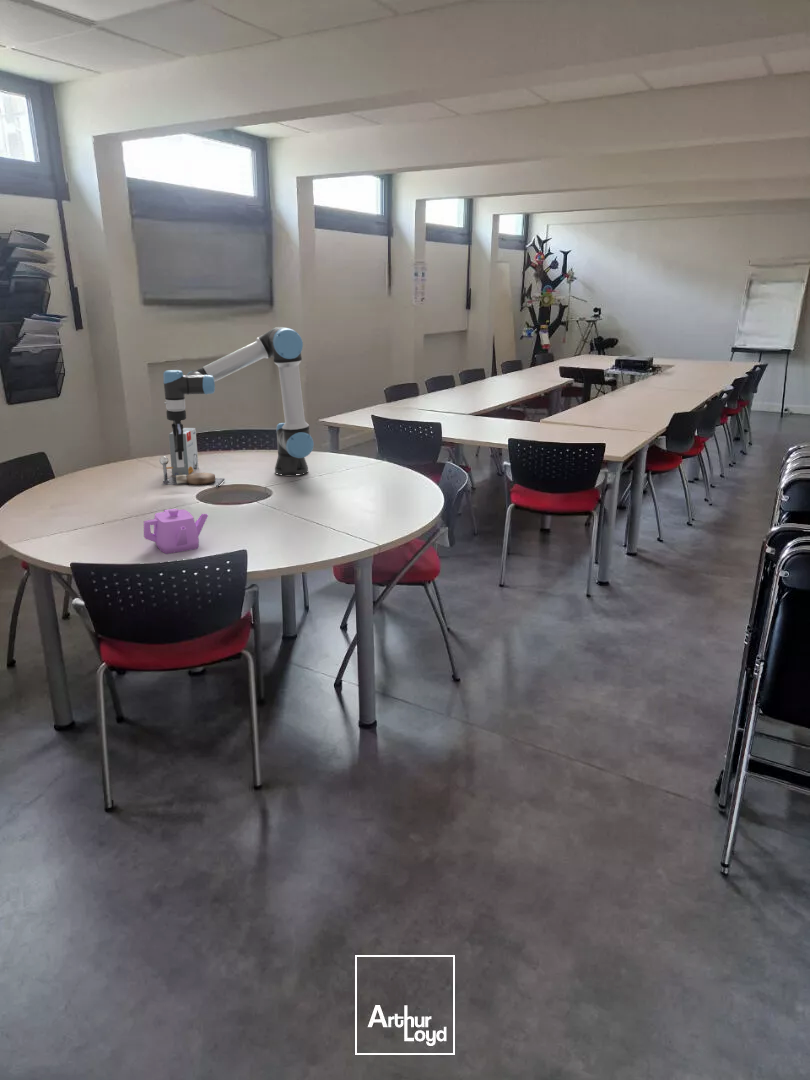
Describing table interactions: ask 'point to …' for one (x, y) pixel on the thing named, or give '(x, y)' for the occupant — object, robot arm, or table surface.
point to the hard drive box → (185, 452)
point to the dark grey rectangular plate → (173, 482)
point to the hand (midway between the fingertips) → (180, 466)
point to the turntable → (196, 478)
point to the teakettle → (174, 530)
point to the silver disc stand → (165, 468)
